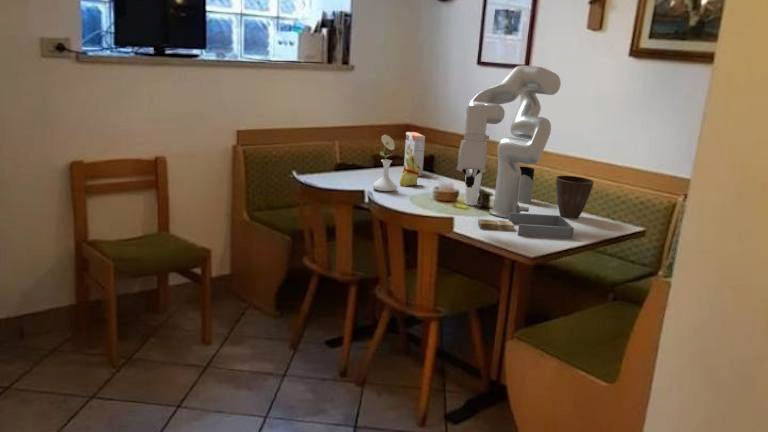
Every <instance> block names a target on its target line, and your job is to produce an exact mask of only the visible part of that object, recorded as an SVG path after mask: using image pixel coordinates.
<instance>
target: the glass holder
mask: <svg viewBox="0 0 768 432" xmlns="http://www.w3.org/2000/svg"><path fill="white" fill-rule="evenodd" d="M519 167H520V170H521V180H520V189H519V197H518V202H519V203H518V204H531V203H532V202H533V201H532V194H533V188H534V187H533V186H534V174H535V168H533V167H528V166H519Z"/></svg>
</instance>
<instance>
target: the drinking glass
mask: <svg viewBox="0 0 768 432" xmlns="http://www.w3.org/2000/svg"><path fill="white" fill-rule="evenodd" d="M472 171H473V169H469V173H470V176H471V174H472ZM482 174H483V173H479V174H478V175H476V177H475V179H474V185H472V188H470V187H469V188H468V187H467V185H465V184H464V204H465V205H466V206H469V205H470V207H471V206H472V207H474V205H475V206H477V205H476V204H478V200H479V199H478V198H479V192H480V189H481V188H480V187H481V183H482V176H483V175H482ZM464 180H465V181H464V183H465V182H466V175H465V178H464Z"/></svg>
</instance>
